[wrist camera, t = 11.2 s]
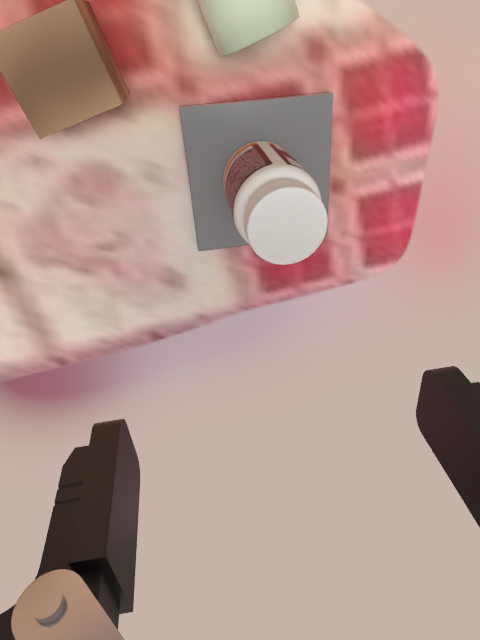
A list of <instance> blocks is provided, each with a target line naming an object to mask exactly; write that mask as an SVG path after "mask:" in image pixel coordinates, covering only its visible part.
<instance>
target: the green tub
mask: <svg viewBox="0 0 480 640" xmlns="http://www.w3.org/2000/svg"><path fill="white" fill-rule="evenodd" d="M197 1H198V3H199V6H200V8H201V11H202V13H203V16H204V18H205V21H206V23H207V26H208V28H209V31H210V33H211V36H212V38H213V41H214V43H215V46H216V48H217V51H218V53H219V56H220V57H221V56H225V55H228V54H231V53H233V52H236V51H238V50H240V49H243V48H245V47H247V46H249V45H251V44H253V43H255V42H257V41H259V40H261V39H263V38H265V37H267V36H269V35H271V34H273V33H274V32H276V31H278V30H280V29H282V28H283V27H285V26H287V25H288V24H290V23H292V22H293V21H294V20H296V19H297V18H298V17H299V13H298V10H297V6H296V3H295V0H197Z"/></svg>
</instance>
